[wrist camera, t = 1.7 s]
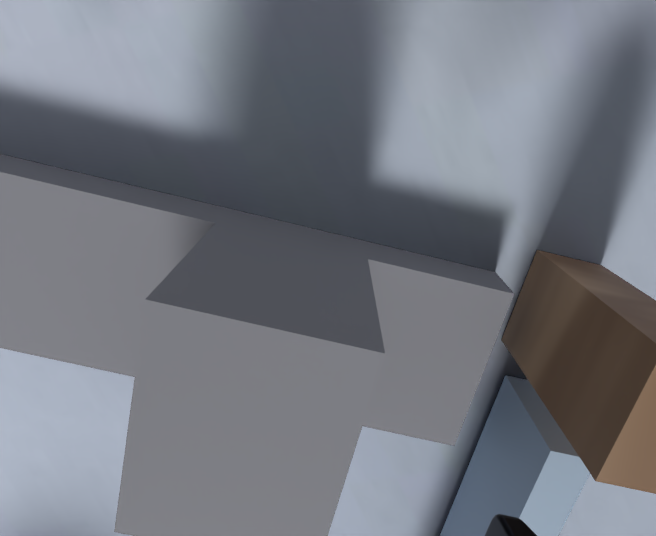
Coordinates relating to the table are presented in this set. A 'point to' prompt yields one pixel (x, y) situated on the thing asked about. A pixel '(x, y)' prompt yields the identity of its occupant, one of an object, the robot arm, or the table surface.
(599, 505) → the table surface
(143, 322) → the gray t-shaped pedestal
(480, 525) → the door leaf
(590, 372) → the wooden blocks
